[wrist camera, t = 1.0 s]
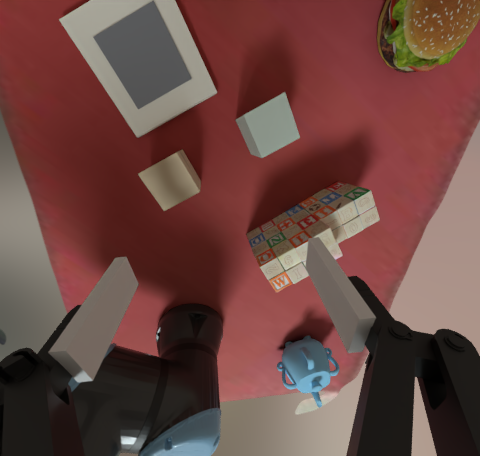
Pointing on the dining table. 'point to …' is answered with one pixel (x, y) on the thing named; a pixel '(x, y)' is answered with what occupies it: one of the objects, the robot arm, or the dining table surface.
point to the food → (424, 32)
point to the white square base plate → (141, 58)
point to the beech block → (171, 180)
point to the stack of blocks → (310, 231)
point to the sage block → (268, 127)
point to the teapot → (307, 366)
